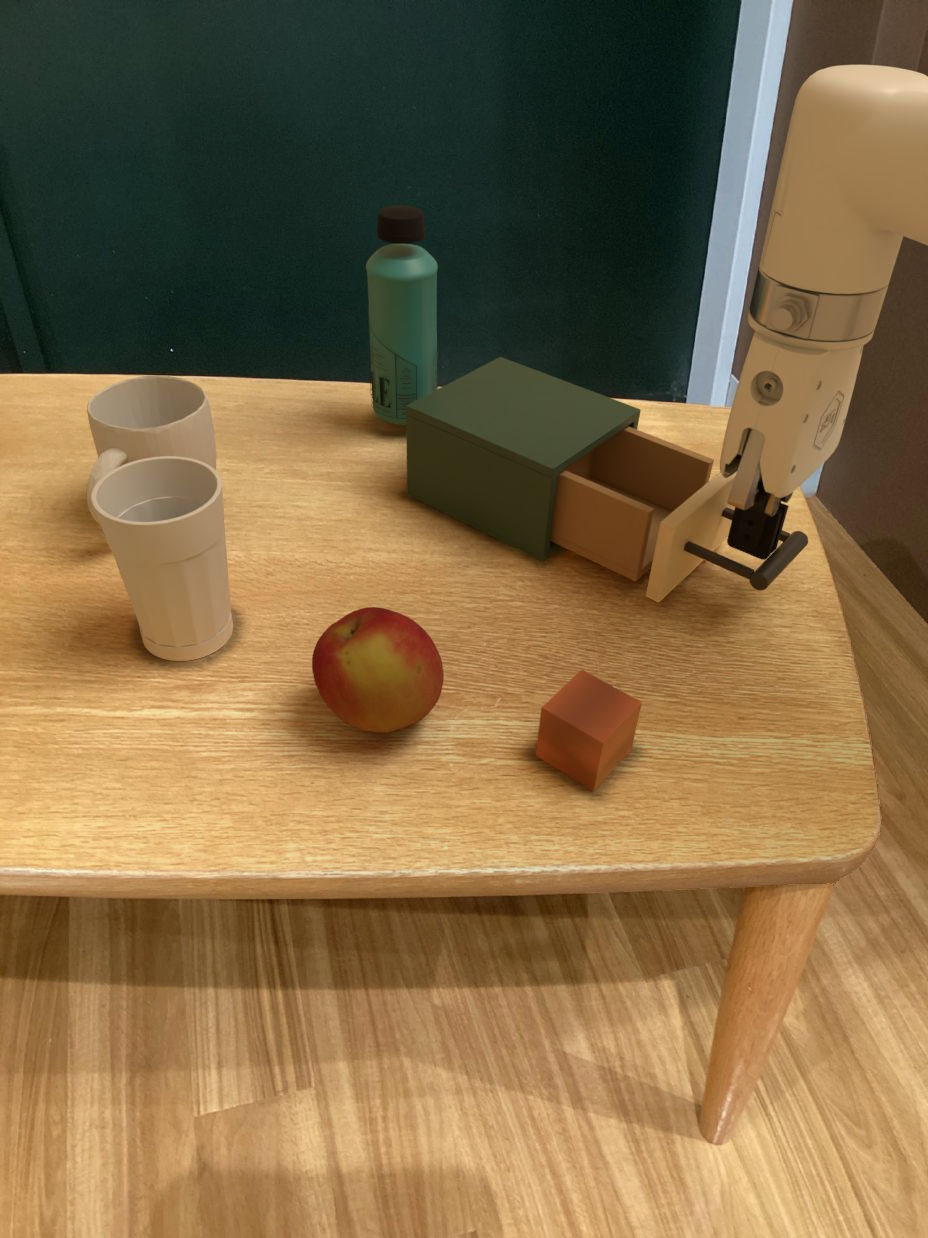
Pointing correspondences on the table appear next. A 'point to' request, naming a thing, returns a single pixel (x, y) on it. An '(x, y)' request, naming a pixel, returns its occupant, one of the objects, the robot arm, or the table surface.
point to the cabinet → (505, 448)
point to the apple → (377, 670)
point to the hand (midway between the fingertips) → (750, 547)
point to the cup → (170, 552)
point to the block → (587, 729)
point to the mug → (149, 424)
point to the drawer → (653, 513)
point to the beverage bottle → (401, 314)
